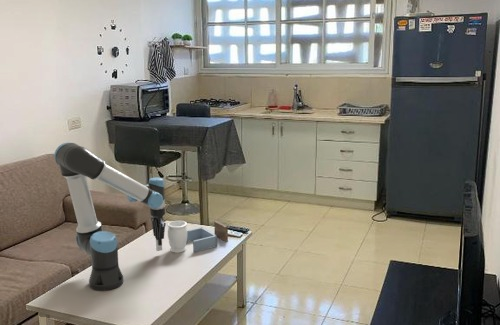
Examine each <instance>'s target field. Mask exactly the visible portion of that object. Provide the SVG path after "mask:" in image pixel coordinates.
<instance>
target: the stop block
mask: <svg viewBox="0 0 500 325" xmlns="http://www.w3.org/2000/svg"><path fill="white" fill-rule="evenodd" d="M213 223H214V225H213V226H214V234H215V235H216V236H217V239H219V240H220V241H222V242H224V243H227V242H228V241H229V240H228V239H229V231H228V230H229V227H228V225H226V224H225V223H222V222H221V221H219V220H215V221H214V222H213Z"/></svg>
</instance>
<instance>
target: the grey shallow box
mask: <svg viewBox="0 0 500 325" xmlns="http://www.w3.org/2000/svg"><path fill="white" fill-rule="evenodd" d="M191 241H192V244H193V246H192V249H193V250H192V251H193V252H194V253H196V252H200V251H204V250H208V249H212V248H216V247H218V238H217V236H216V235H215V233H213V232H211V231H209V230H208V229H206V228H204V227H203V226H202V227H197V228H193V229H189V230H188V229H187V242H191Z"/></svg>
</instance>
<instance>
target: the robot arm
mask: <svg viewBox="0 0 500 325" xmlns="http://www.w3.org/2000/svg"><path fill="white" fill-rule="evenodd" d="M53 154H54V155H53V157H54V161H55V163H56V165H58V167H59V170H60V173H61V177H63V178H65V179H66V184H67V186H68V191H69V194H70V198H71V203H72V206H73V209H74V214H75V218H76V221H77V226H76V230H75V232H76V234H75V242H76V245H77V247H78V248H79V249H80V250H81V251H83V252H84V253H86V255H88V256H90V258H91V272H90V275H89V279H88V285H89V286H88V287H89V288H90V289H91V290H94V291H99V292H104V291H105V292H106V291H110V290H114V289H117V288H119V287H120V286H122V285H123V283H124V276H123V273H122V270H121V269H120V266H119V248H118V246H119V245H118V244H119V243H118V242H119V241H118V239H117V235H116V234H115V233H114V232H111V231H107V230H104V229H103V226H102V222H101V221H99V220H98V218H97V215H96V211H95V206H94V202H93V198H92V194H91V190H90V186H89V182H88V178H89V179H91V180H97V181H100V182H102V183H103V184H105V185H108V186H109V187H111V188H113V189H116V190H117V191H119V192H121V193H123V194H125V195H126V199H127V200H128V201H129V202H131V203H134V202H140V203H142V204H144V205H146V206H147V207H150V209H149V210H150V211H149V212H150V221H151V226H152V233H153V234H152V235H153V236H154V239H155V247H156V248H155V250H156V251H157V252H160V251H161V252H162V251H163V239H165V232H166V231H165V229H166V224H167V223H166V222H164V218H163V216H165V215H166V206H165V205H166V199H165V196H166V194H165V181H164V178H162V177H159V176H158V177H156V176H155V177H151V178H149V180H148V183H144V184H142V183H141V182H139V181H137V180H135V179H133V178H132V177H130V176H128V175H127V174H125V173H123V172H121V171H119V170H117V169H115V168H114V167H111V166H110V165H108V164H106V161H105V160H104V159H103V158H100V157H99V156H97V155H96V154H94V152H92V151H90V150H89V149H87V148H86V147H84V146H81V145H78V144H77V143H74V142H63V143H61V144H60V145H59V146H57V148H56V149H55V151H54V153H53Z"/></svg>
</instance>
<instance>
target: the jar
mask: <svg viewBox="0 0 500 325" xmlns="http://www.w3.org/2000/svg"><path fill="white" fill-rule="evenodd" d="M187 225H188V223H187V221H184V220H173V221H169V222H168V223H167V228H168V229H167V239H168V244H169V247H170V248H169V249H170V252H172V253H176V254H177V253H178V254H180V253H183V252H185V251H186V250H187V248H186V245H187V243H188V241H187V231H188V228H187Z"/></svg>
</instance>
